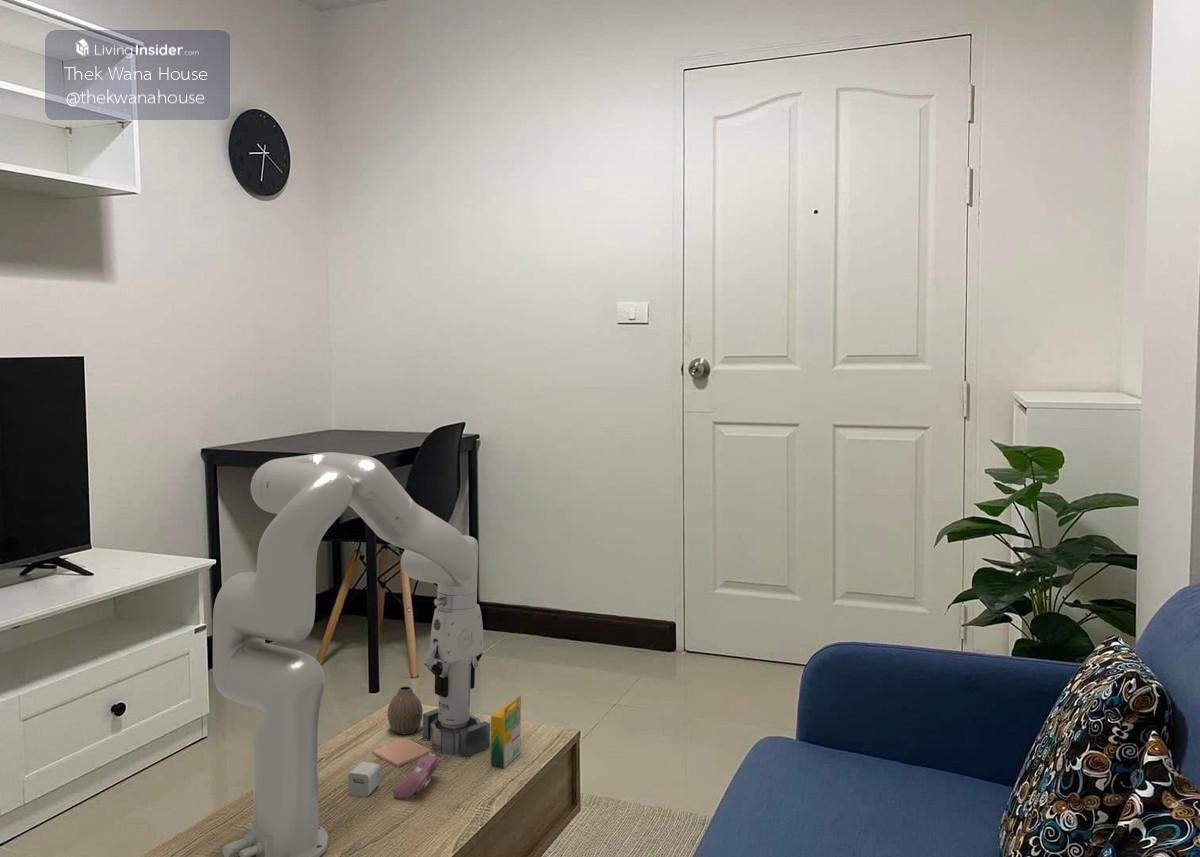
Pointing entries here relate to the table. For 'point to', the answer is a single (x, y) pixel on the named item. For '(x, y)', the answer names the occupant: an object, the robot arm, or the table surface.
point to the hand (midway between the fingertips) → (454, 690)
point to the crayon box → (506, 734)
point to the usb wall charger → (364, 778)
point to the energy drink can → (456, 695)
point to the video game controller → (418, 776)
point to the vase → (405, 711)
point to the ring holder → (456, 735)
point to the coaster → (401, 752)
